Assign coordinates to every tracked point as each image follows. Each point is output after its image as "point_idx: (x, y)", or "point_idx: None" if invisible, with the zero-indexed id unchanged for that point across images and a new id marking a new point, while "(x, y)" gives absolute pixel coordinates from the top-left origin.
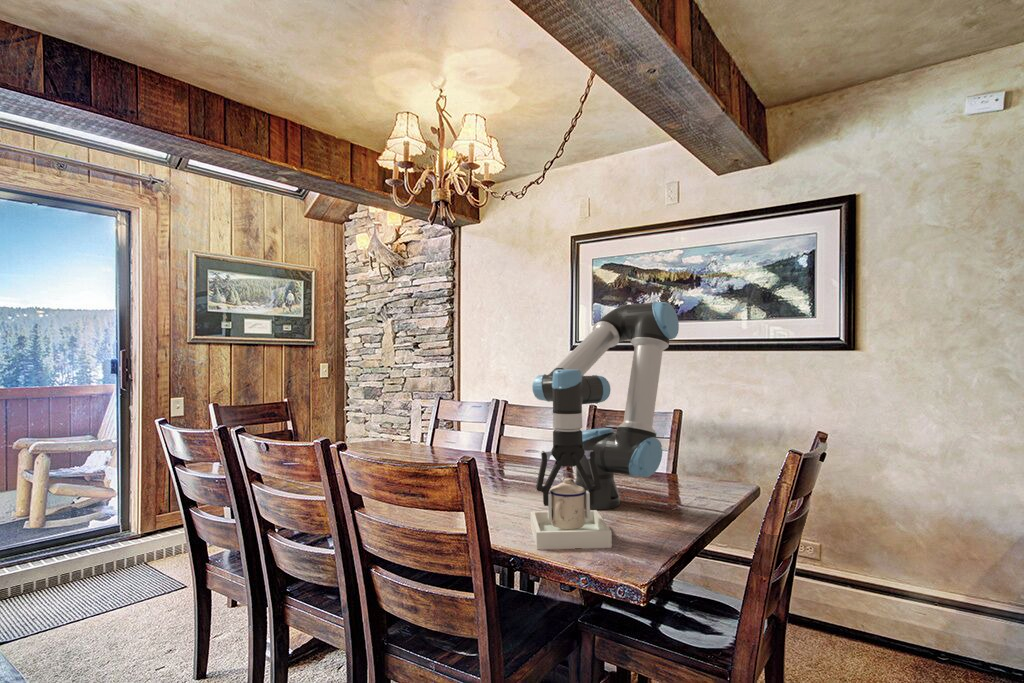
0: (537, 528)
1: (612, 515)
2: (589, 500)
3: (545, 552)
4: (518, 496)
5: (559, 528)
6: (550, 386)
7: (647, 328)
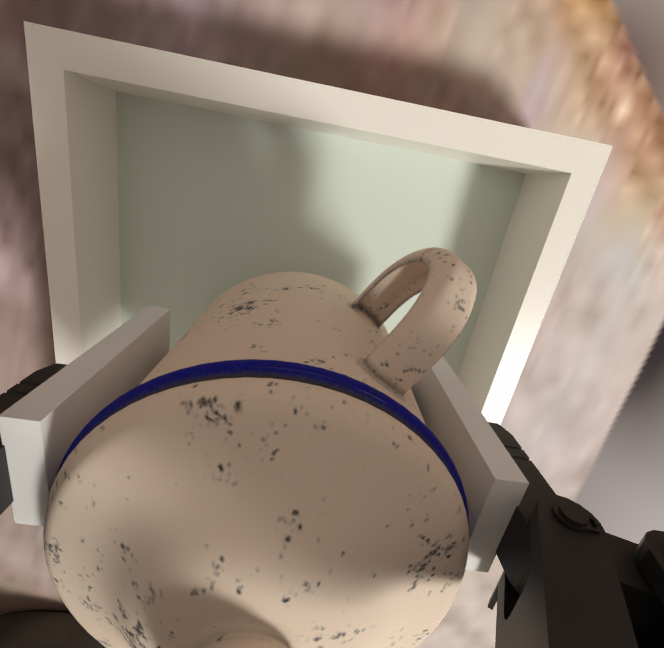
0: (559, 240)
1: (12, 543)
2: (63, 369)
3: (517, 91)
4: None
5: None
6: None
7: None
